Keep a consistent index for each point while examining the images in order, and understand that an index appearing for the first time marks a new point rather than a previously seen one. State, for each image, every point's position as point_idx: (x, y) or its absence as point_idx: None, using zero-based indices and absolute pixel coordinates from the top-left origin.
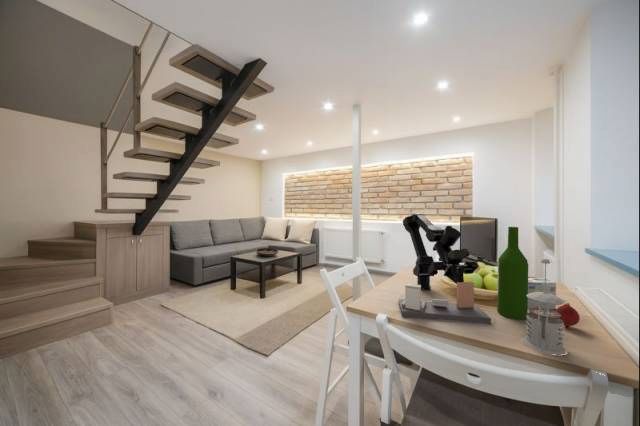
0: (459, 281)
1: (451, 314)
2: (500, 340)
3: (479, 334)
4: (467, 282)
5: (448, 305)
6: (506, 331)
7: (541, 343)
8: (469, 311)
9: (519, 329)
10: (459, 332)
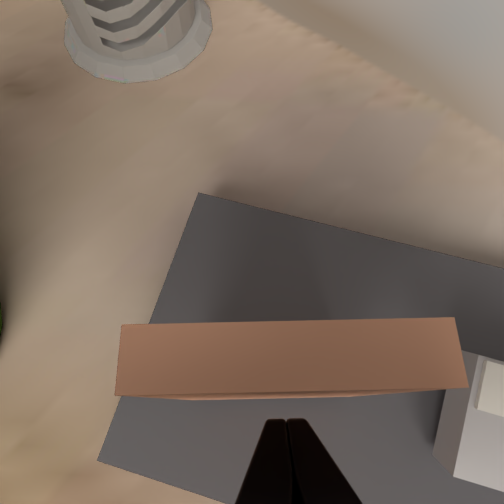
0: (350, 493)
1: (455, 267)
2: (293, 67)
3: (358, 116)
4: (231, 371)
5: (462, 350)
6: (188, 133)
7: (156, 3)
8: (276, 311)
9: (94, 148)
10: (456, 138)
